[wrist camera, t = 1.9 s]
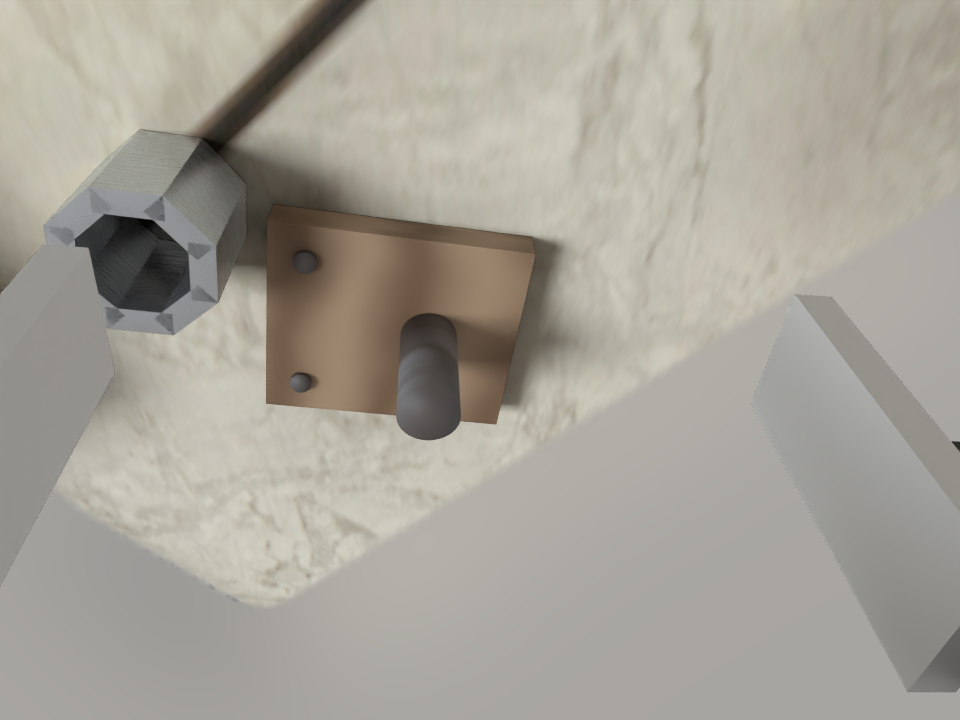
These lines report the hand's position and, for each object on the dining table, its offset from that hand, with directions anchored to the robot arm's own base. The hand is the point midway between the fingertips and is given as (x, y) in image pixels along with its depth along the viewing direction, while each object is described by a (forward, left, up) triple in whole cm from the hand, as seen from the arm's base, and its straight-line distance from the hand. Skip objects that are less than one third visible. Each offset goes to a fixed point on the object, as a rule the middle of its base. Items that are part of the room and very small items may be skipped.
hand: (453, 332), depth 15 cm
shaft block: (0, -16, -26) cm, 31 cm away
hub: (-12, -11, -26) cm, 31 cm away
